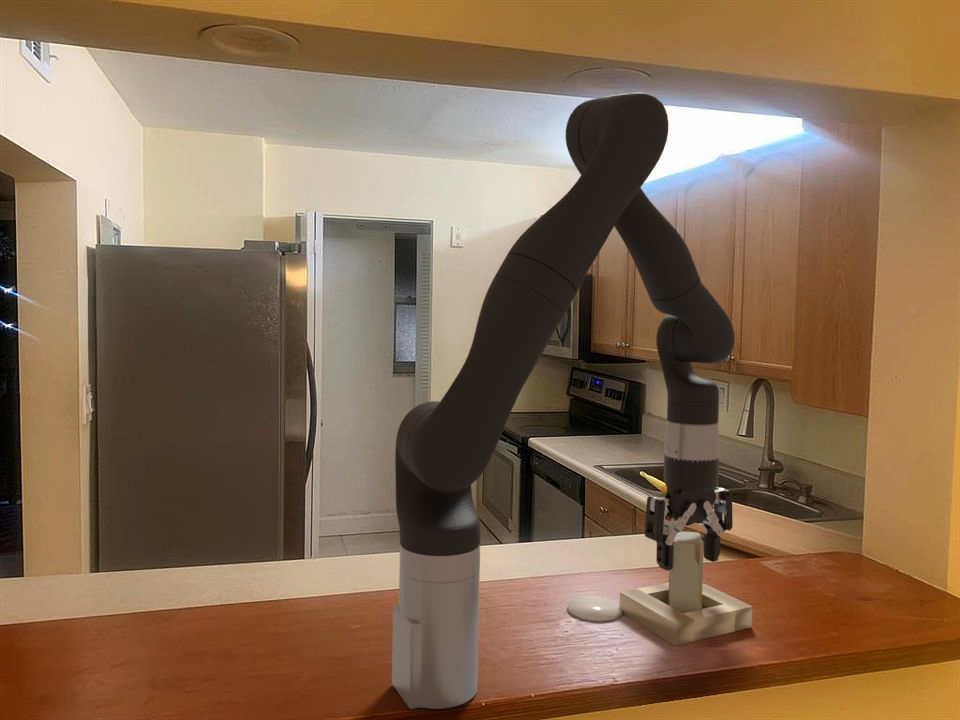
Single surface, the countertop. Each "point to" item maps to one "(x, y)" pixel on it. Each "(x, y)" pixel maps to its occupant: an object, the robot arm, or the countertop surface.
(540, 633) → the countertop surface
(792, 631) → the countertop surface
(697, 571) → the skincare box
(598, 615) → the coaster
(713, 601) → the pocket block
